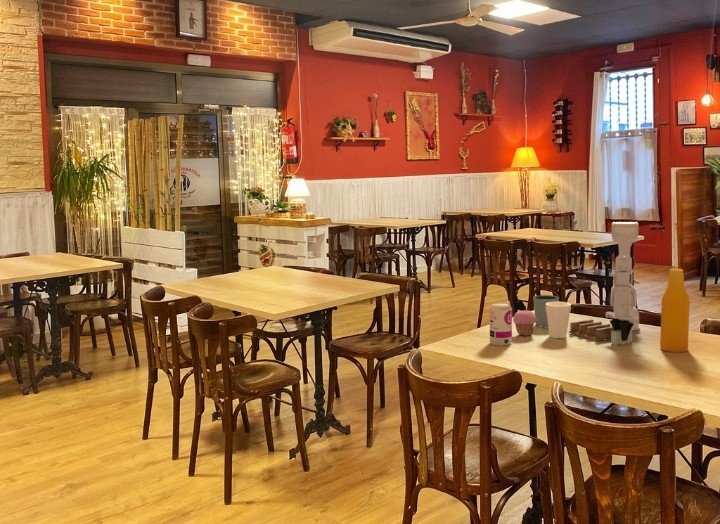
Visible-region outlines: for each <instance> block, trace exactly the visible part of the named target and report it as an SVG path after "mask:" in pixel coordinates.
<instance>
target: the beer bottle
mask: <svg viewBox="0 0 720 524" xmlns="http://www.w3.org/2000/svg"><path fill="white" fill-rule="evenodd" d="M668 274H669V275H668V283H667V286H666V289H665V290H664V292H663V294H662V297H661V309H660V310H661V311H660V312H661V313H660V315H661V317H660V340H659V347H660V349H661V350H662V351H664V352H668V353H685V352H687V351H688V349H689V330H690V329H689V326H690V305H691V303H690V302H691V301H690V296H689V294H688V291H687V289H686V286H685V279H684V278H685V277H684V276H685V275H684V270H683V268H682V269H681V268H670V270H669V273H668Z"/></svg>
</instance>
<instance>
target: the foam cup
mask: <svg viewBox="0 0 720 524" xmlns="http://www.w3.org/2000/svg"><path fill="white" fill-rule="evenodd" d="M571 305H572V304H571V303H569V302H565V301H558V302H548V303H546V312H547V321H548V335H549V338H551V337H553V338H552V339H555V338H563V339H566V338H567V333H568V329H569V328H568V327H569V320H570V314H571V308H572V307H571ZM565 337H566V338H565Z"/></svg>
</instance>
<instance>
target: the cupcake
mask: <svg viewBox="0 0 720 524" xmlns="http://www.w3.org/2000/svg"><path fill="white" fill-rule="evenodd" d="M512 322H513V323H514V325H515V330H516V333H517V334H518V335H519V336H521V335H522V336H524V337H525V336H526V337H527V336H531V335H533V333H534V324H536V323H535V322H536V316H535V312H533V311H532V310H528V309H527V310H525V309H524V310H519V311H517V312H516V313H515V314H514V316H513V317H512Z"/></svg>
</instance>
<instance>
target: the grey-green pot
mask: <svg viewBox="0 0 720 524" xmlns="http://www.w3.org/2000/svg"><path fill="white" fill-rule="evenodd" d="M532 298H533V299H532V300H533V301H532V302H533V306H534V307H533V309H534V310H533V311H534V314H535V316H536V322H535V323H534V324H535V326H536V325H537V326H536V327H538V326H542V327H541V328H544V327H548V321H547V312H546V303H548V302H559V297H558V296H556V295H553V294H552V295H550V294H549V295H548V294H547V295H546V294H541V295H535V296H533V297H532Z"/></svg>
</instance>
